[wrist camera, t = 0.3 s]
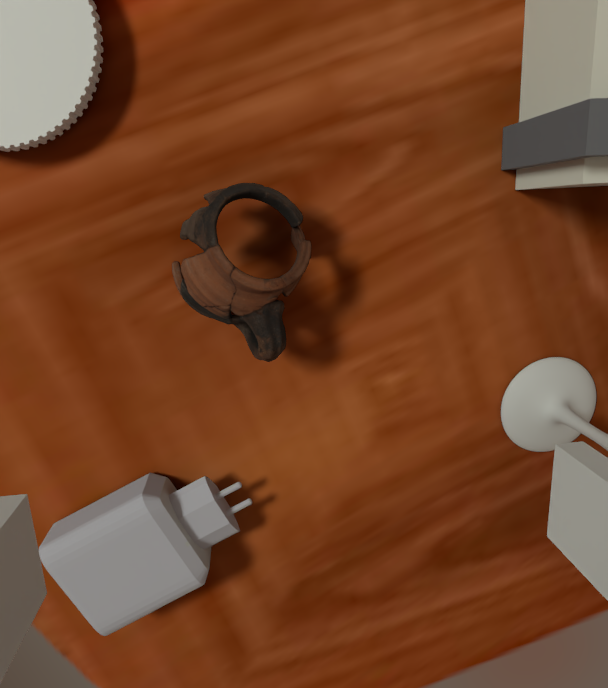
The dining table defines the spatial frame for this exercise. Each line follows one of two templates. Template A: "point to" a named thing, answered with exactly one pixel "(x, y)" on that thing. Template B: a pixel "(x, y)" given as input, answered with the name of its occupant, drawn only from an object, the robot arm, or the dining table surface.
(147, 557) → the charger
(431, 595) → the dining table surface
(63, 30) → the plastic lid
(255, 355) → the brown hollow ring
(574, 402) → the wineglass
